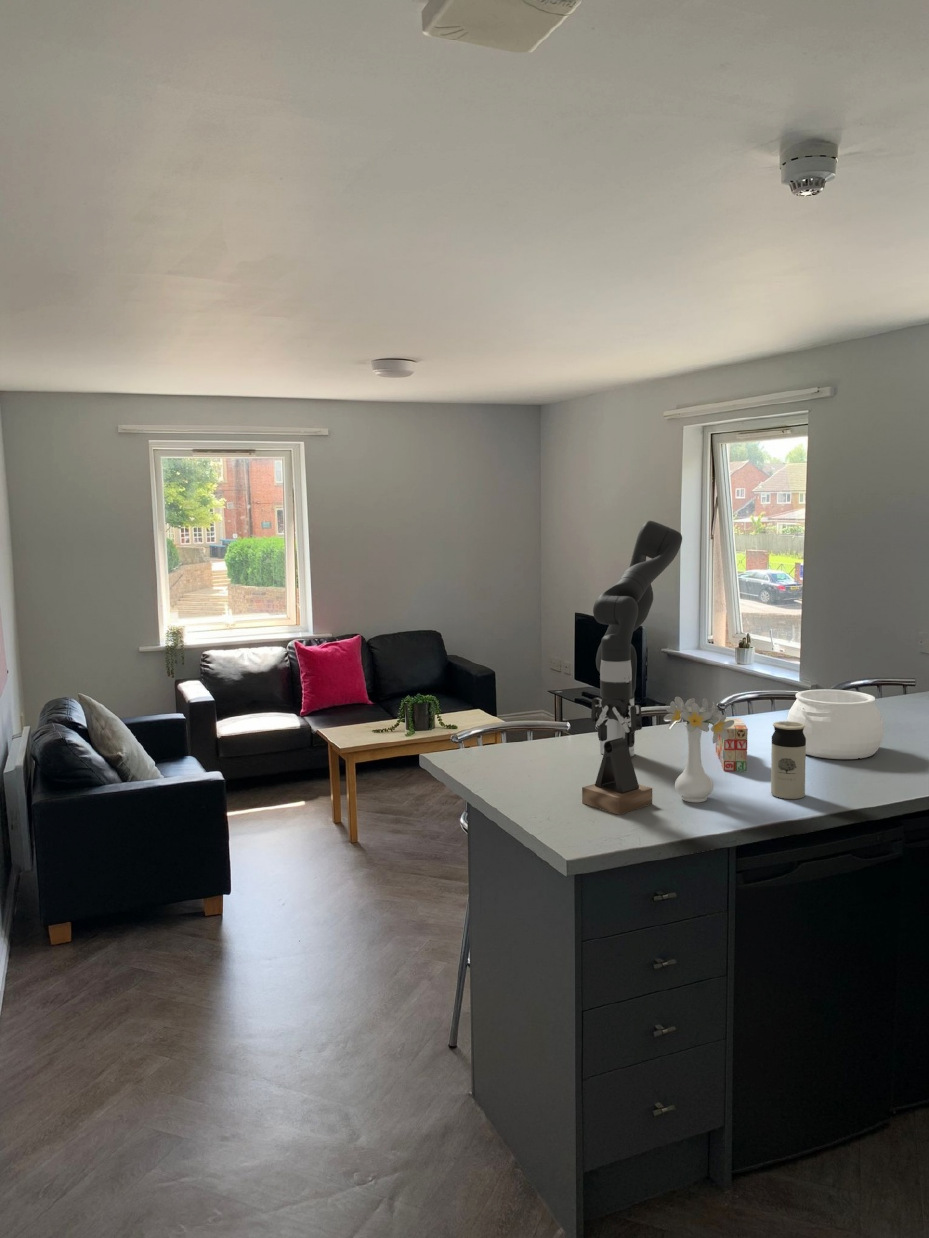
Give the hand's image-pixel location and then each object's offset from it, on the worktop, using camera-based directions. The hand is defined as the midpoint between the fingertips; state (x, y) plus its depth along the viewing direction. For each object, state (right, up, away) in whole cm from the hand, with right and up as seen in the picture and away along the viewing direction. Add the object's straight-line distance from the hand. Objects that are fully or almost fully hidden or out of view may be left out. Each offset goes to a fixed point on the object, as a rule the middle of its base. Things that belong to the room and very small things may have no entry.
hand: (616, 743), depth 221 cm
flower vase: (+21, -14, +3) cm, 25 cm away
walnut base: (+1, -15, +2) cm, 15 cm away
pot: (+72, -9, +46) cm, 86 cm away
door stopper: (0, -11, +1) cm, 11 cm away
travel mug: (+44, -14, +5) cm, 46 cm away
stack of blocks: (+39, -11, +38) cm, 55 cm away
